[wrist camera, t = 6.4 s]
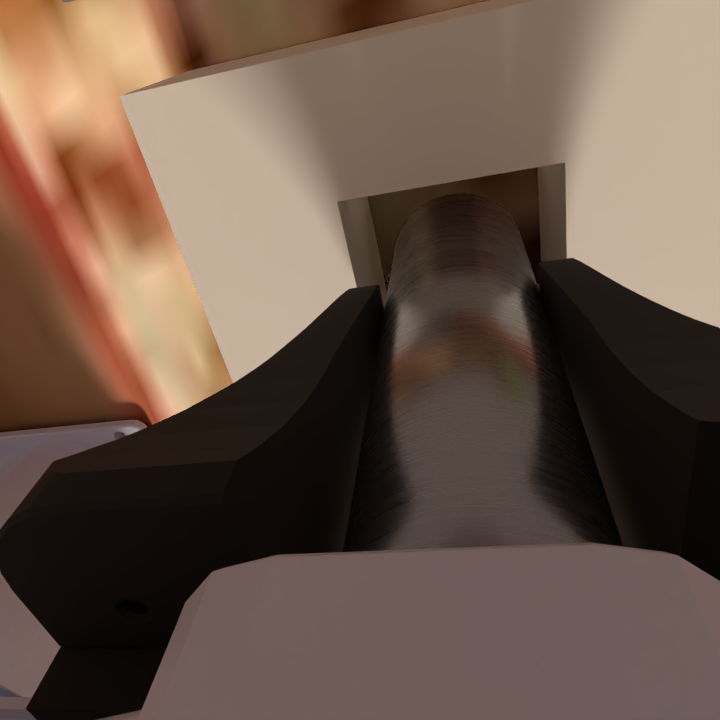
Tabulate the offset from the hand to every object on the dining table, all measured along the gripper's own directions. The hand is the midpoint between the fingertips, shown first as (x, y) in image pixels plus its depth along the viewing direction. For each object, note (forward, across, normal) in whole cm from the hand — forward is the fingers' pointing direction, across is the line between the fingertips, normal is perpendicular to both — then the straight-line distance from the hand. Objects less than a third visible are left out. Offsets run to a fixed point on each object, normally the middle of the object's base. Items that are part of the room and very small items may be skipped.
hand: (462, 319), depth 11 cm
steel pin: (+3, 0, 0) cm, 3 cm away
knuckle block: (+6, 0, 0) cm, 6 cm away
